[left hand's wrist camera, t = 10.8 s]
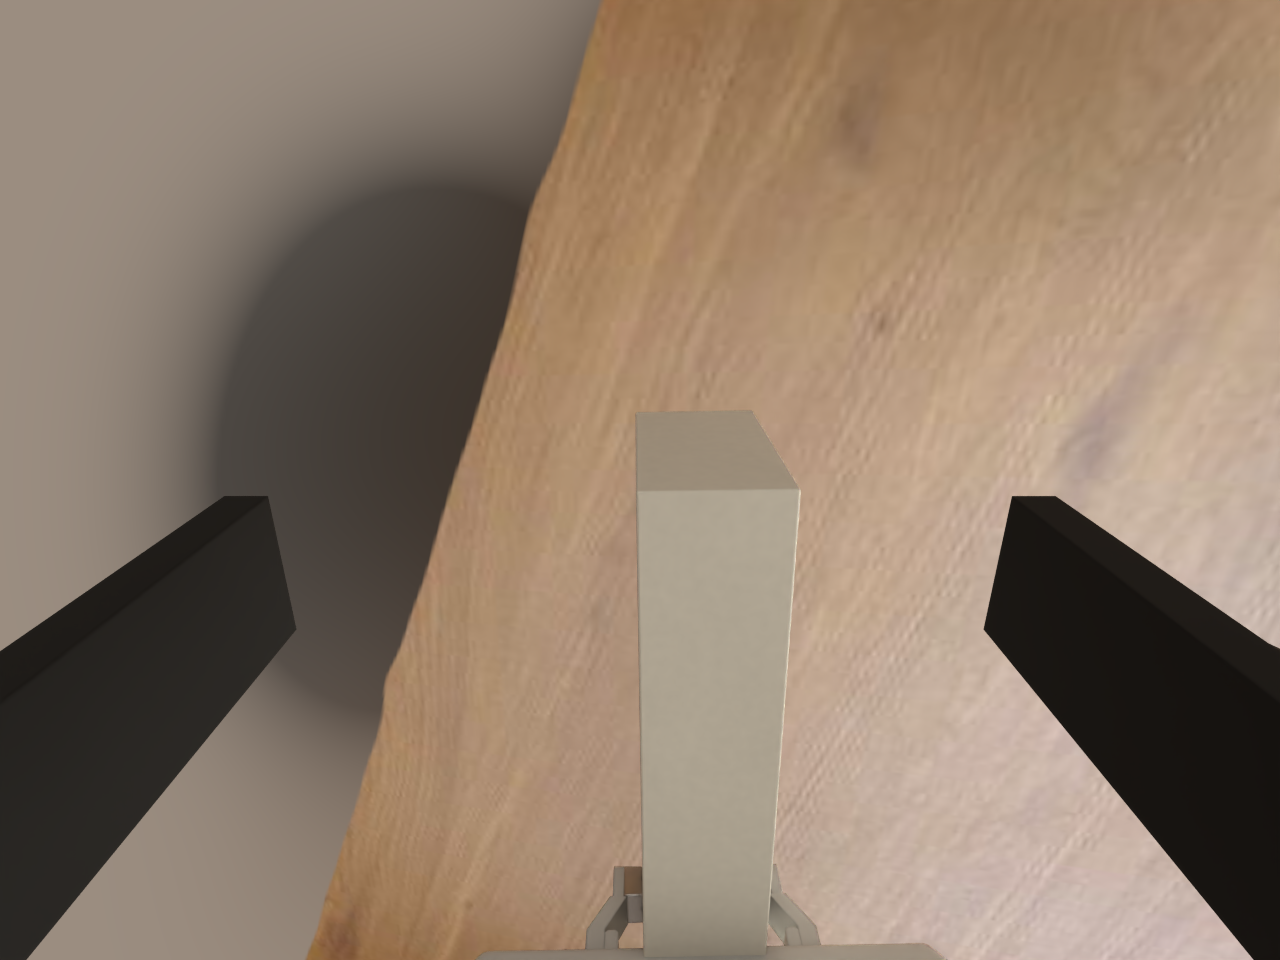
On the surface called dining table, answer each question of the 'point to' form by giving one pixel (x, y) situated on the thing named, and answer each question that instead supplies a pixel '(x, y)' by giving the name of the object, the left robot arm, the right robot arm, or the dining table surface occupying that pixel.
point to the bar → (711, 674)
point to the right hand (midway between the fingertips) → (695, 873)
